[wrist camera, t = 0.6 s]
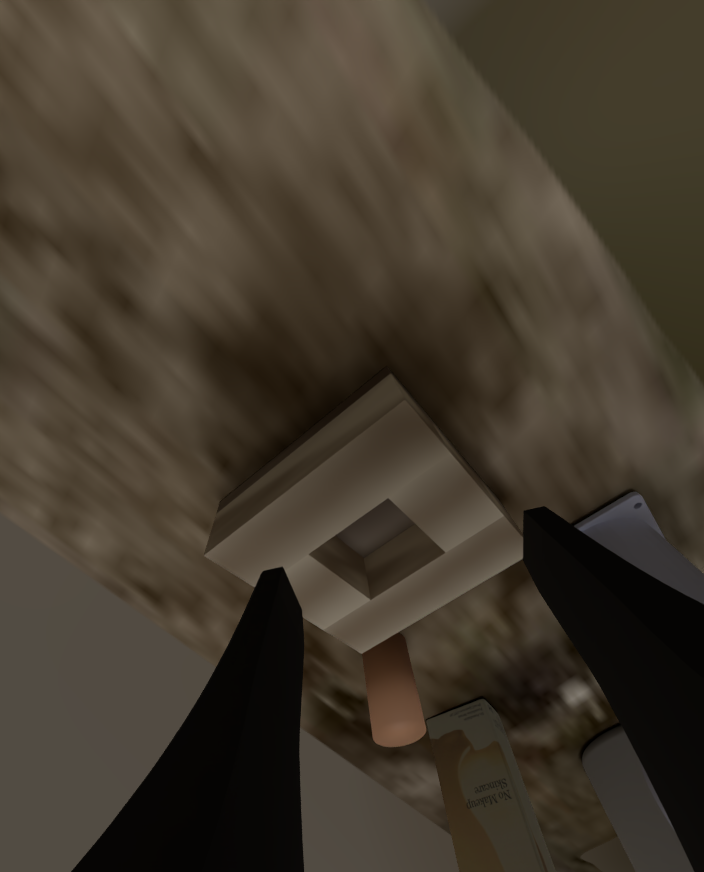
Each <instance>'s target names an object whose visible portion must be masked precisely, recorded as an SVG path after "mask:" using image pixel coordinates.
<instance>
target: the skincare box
mask: <svg viewBox="0 0 704 872" xmlns="http://www.w3.org/2000/svg"><path fill="white" fill-rule="evenodd" d="M426 722H427V727H428V732H429V736H430V741H431V745H432V749H433V754H434V758H435V763H436V768H437V772H438V777H439V781H440V786H441V791H442V795H443V800H444V804H445V808H446V813H447V818H448V822H449V827H450V831H451V836H452V840H453V845H454V849H455V854H456V858H457V863H458V867H459V872H556V871H555V868H554V865H553V863H552V860H551V857H550V854H549V851H548V849H547V846H546V843H545V840H544V838H543V835H542V832H541V829H540V827H539V824H538V821H537V818H536V816H535V813H534V810H533V807H532V804H531V802H530V799H529V796H528V794H527V791H526V788H525V785H524V782H523V780H522V777H521V774H520V772H519V769H518V766H517V763H516V760H515V758H514V755H513V752H512V750H511V747H510V744H509V741H508V739H507V736H506V733H505V730H504V728H503V725H502V722H501V719H500V717H499V715H498V713H497V712H496V711H495V710H494V709H493V707H492V706H491V705H490V704H489V703H488V702H487V701H486V700H484V699H479V700H477V701H475V702H472V703H470V704H467V705H464V706H462V707H459V708H457V709H454V710H451V711H449V712H446V713H443V714H441V715H438V716H436V717H433V718H430V719H428V720H427V721H426Z"/></svg>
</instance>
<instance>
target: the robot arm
mask: <svg viewBox="0 0 704 872" xmlns="http://www.w3.org/2000/svg"><path fill="white" fill-rule="evenodd" d="M523 561H524V563H525V565H526V567H527V569H528V571H529V573H530V575H531V577H532V579H533V581H534V583H535V585H536V587H537V588H538V590H539V592H540V594H541V595H542V597H543V599H544V600H545V602H546V603H547V605H548V606H549V608H550V609H551V611H552V613H553V614H554V616H555V617H556V619H557V620H558V622H559V623H560V625H561V626H562V628H563V629H564V631H565V632H566V634H567V635H568V637H569V638H570V640H571V641H572V643H573V644H574V646H575V647H576V649H577V651H578V652H579V654H580V655H581V657H582V658H583V660H584V661H585V663H586V664H587V666H588V667H589V669H590V670H591V672H592V674H593V675H594V677H595V679H596V680H597V682H598V684H599V685H600V687H601V689H602V691H603V692H604V694H605V696H606V698H607V700H608V702H609V703H610V705H611V707H612V709H613V711H614V713H615V715H616V716H617V718H618V720H619V722H620V724H621V726H622V727H623V729H624V731H625V733H626V735H627V737H628V739H629V741H630V743H631V745H632V747H633V749H634V750H635V752H636V754H637V756H638V758H639V760H640V765H641V769H642V772H643V775H644V778H645V780H646V783H647V785H648V787H649V789H650V791H651V793H652V795H653V797H654V799H655V801H656V802H657V804H658V806H659V808H660V809H661V811H662V813H663V814H664V816H665V817H666V819H667V821H668V822H669V824H670V825H671V827H672V828H673V830H674V831H675V832H676V834H677V837H678V839H679V841H680V843H681V845H682V847H683V849H684V851H685V853H686V855H687V858H688V860H689V862H690V864H691V866H692V868H693V870H694V872H704V574H703V573H702V572H701V571H700V570H699V569H698V568H697V567H695V566H694V565H693V564H692V563H691V562H690V561H689V560H688V559H687V558H685V557H684V556H683V555H682V554H681V553H680V552H679V551H678V550H677V549H675V548H674V547H673V546H672V545H671V544H670V543H669V542H668V541H667V540H666V539H665V537H664V535H663V534H662V532H661V530H660V528H659V526H658V524H657V523H656V521H655V519H654V517H653V515H652V513H651V512H650V510H649V508H648V506H647V504H646V502H645V501H644V499H643V497H642V496H641V495H640V494H639V493H638V492H631V493H628V494H627V495H625V496H623V497H622V498H620V499H618V500H617V501H615V502H613V503H612V504H610V505H608V506H606V507H605V508H603V509H601V510H600V511H598V512H596V513H595V514H593V515H591V516H590V517H588V518H586V519H585V520H583V521H581V522H580V523H578V524H576V525H574V526H573V525H571V524H570V523H568V522H567V521H566V520H564V519H563V518H561V517H560V516H558V515H557V514H555V513H554V512H552V511H551V510H549V509H548V508H546V507H545V506H543V507H538V508H534V509H530V510H525V511H524V520H523ZM303 659H304V632H303V616H302V608H301V606H300V604H299V602H298V599H297V597H296V595H295V593H294V590H293V588H292V586H291V584H290V581H289V579H288V577H287V574H286V572H285V570H284V568H283V566H282V567H278V568H274V569H269V570H265V571H263V572H262V573H261V574H260V577H259V579H258V581H257V584H256V586H255V588H254V591H253V593H252V595H251V598H250V600H249V602H248V604H247V607H246V609H245V611H244V613H243V615H242V617H241V620H240V622H239V624H238V626H237V628H236V630H235V632H234V634H233V636H232V638H231V640H230V642H229V644H228V646H227V648H226V650H225V652H224V654H223V656H222V657H221V659H220V661H219V663H218V665H217V667H216V669H215V671H214V672H213V674H212V676H211V678H210V680H209V681H208V684H207V685H206V687H205V688H204V690H203V692H202V693H201V695H200V697H199V699H198V700H197V702H196V704H195V705H194V707H193V708H192V710H191V712H190V713H189V715H188V716H187V718H186V720H185V721H184V723H183V724H182V726H181V727H180V729H179V730H178V732H177V733H176V735H175V736H174V738H173V739H172V741H171V742H170V744H169V745H168V747H167V748H166V750H165V751H164V753H163V754H162V756H161V757H160V758H159V760H158V761H157V763H156V764H155V766H154V767H153V768H152V770H151V771H150V773H149V774H148V775H147V777H146V778H145V779H144V781H143V782H142V783H141V785H140V786H139V787H138V789H137V790H136V791H135V793H134V794H133V795H132V797H131V798H130V799H129V801H128V802H127V803H126V804H125V806H124V807H123V808H122V810H121V811H120V812H119V814H118V815H117V816H116V818H115V819H114V820H113V822H112V823H111V824H110V825H109V827H108V828H107V829H106V831H105V832H104V833H103V834H102V836H101V837H100V838H99V839H98V840H97V842H96V843H95V844H94V845H93V846H92V848H91V849H90V850H89V851H88V852H87V853H86V855H85V856H84V857H83V858H82V860H81V861H80V862H79V863H78V864H77V865H76V867H75V868H74V869H73V870H72V871H71V872H304V862H303V844H302V820H301V797H300V761H299V736H300V735H299V734H300V716H301V697H302V679H303Z"/></svg>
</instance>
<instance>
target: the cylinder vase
mask: <svg viewBox="0 0 704 872" xmlns="http://www.w3.org/2000/svg"><path fill="white" fill-rule="evenodd" d="M582 764H583V768H584V770H585V772H586V774H587V776H588V778H589V780H590V782H591V784H592V786H593V788H594V790H595V792H596V794H597V796H598V798H599V800H600V802H601V804H602V806H603V808H604V810H605V812H606V814H607V816H608V817H609V819H610V821H611V823H612V825H613V827H614V829H615V831H616V833H617V835H618V837H619V839H620V841H621V843H622V845H623V847H624V849H625V851H626V853H627V855H628V857H629V859H630V861H631V863H632V865H633V867H634V869H635V871H636V872H694V870H693V868H692V866H691V864H690V862H689V860H688V858H687V855H686V853H685V851H684V849H683V847H682V845H681V843H680V841H679V839H678V837H677V834H676V832H675V831H674V830H673V828H672V827H671V825H670V824H669V822H668V821H667V819H666V817H665V816H664V814H663V813H662V811H661V809H660V808H659V806H658V804H657V802H656V801H655V799H654V797H653V795H652V793H651V791H650V789H649V787H648V785H647V783H646V780H645V778H644V775H643V772H642V769H641V765H640V760H639V758H638V756H637V754H636V752H635V750H634V749H633V747H632V745H631V743H630V741H629V739H628V737H627V735H626V733H625V731H624V729H623V727H622V726H621V725H620V726H617V727H615V728H613V729H611V730H609V731H607V732H605V733H603V734H602V735H600V736H599V737H597V738H596V739H595V740H593V741H592V742H591V743H590V744H589V745H588V746H587V748H586V749H585V751H584V753H583V756H582Z"/></svg>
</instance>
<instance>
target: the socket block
mask: <svg viewBox="0 0 704 872" xmlns="http://www.w3.org/2000/svg"><path fill="white" fill-rule="evenodd" d="M204 556H205V557H207V558H208V559H210V560H211V561H213V562H215V563H216V564H218V565H220V566H221V567H223V568H224V569H226V570H228V571H229V572H231V573H232V574H234V575H236V576H237V577H239V578H240V579H242V580H244V581H245V582H247V583H248V584H250V585H252V586H253V587H255V586H256V584H257V581H258V579H259V577H260V574H261V573H262V572H263V571H265V570H269V569H274V568H278V567H282V566H283V568H284V570H285V572H286V574H287V577H288V579H289V581H290V584H291V586H292V588H293V590H294V593H295V595H296V597H297V599H298V602H299V604H300V606H301V608H302V616H303V618H305V619H306V620H308V621H310V622H311V623H313V624H314V625H316V626H318V627H319V628H321V629H322V630H324V631H326V632H327V633H329V634H330V635H332V636H334V637H335V638H337V639H338V640H340V641H342V642H343V643H345V644H347V645H348V646H350V647H351V648H353V649H355V650H356V651H358V652H359V653H361V654H362V653H364V652H366V651H367V650H369V649H371V648H372V647H374V646H376V645H377V644H379V643H381V642H383V641H384V640H386V639H388V638H389V637H391V636H393V635H394V634H396V633H398V632H399V631H401V630H403V629H405V628H406V627H408V626H410V625H411V624H413V623H415V622H416V621H418V620H420V619H421V618H423V617H425V616H426V615H428V614H430V613H432V612H433V611H435V610H437V609H438V608H440V607H442V606H443V605H445V604H447V603H448V602H450V601H452V600H454V599H455V598H457V597H459V596H460V595H462V594H464V593H465V592H467V591H469V590H470V589H472V588H474V587H476V586H477V585H479V584H481V583H482V582H484V581H486V580H487V579H489V578H491V577H492V576H494V575H496V574H497V573H499V572H501V571H503V570H504V569H506V568H508V567H509V566H511V565H513V564H514V563H516V562H518V561H519V560H521V559H523V534H522V532H521V531H520V529H519V528H518V526H517V525H516V524H515V522H514V521H513V519H512V518H511V516H510V515H509V513H508V512H507V510H506V509H505V507H504V506H503V504H502V503H501V502H500V501H499V499H498V498H497V497H496V496H495V495H494V494H493V492H492V491H491V490H490V489H489V488H488V486H487V485H486V484H485V483H484V482H483V480H482V479H481V478H480V477H479V476H478V474H477V473H476V472H475V471H474V470H473V468H472V467H471V466H470V465H469V464H468V462H467V461H466V460H465V459H464V458H463V456H462V455H461V454H460V453H459V452H458V450H457V449H456V448H455V447H454V446H453V444H452V443H451V442H450V441H449V440H448V438H447V437H446V436H445V435H444V434H443V433H442V431H441V430H440V429H439V428H438V427H437V425H436V424H435V423H434V422H433V421H432V419H431V418H430V417H429V416H428V415H427V413H426V412H425V411H424V410H423V409H422V407H421V406H420V405H419V404H418V403H417V401H416V400H415V399H414V398H413V397H412V395H411V394H410V393H409V392H408V391H407V389H406V388H405V387H404V386H403V385H402V383H401V382H400V381H399V380H398V379H397V377H396V376H395V375H394V374H393V373H392V372H391V370H390V369H389V368H388V367H387V366H386V367H385V368H384V369H383V370H381V371H380V372H379V373H378V374H376V375H375V376H374V377H373V378H372V379H370V380H369V381H368V382H367V383H365V384H364V385H363V386H362V387H360V388H359V389H358V390H357V391H356V392H354V393H353V394H352V395H351V396H349V397H348V398H347V399H346V400H345V401H343V402H342V403H341V404H340V405H338V406H337V407H336V408H335V409H333V410H332V411H331V412H330V413H329V414H327V415H326V416H325V417H324V418H322V419H321V420H320V421H319V422H317V423H316V424H315V425H314V426H313V427H311V428H310V429H309V430H308V431H306V432H305V433H304V434H303V435H302V436H300V437H299V438H298V439H297V440H295V441H294V442H293V443H292V444H290V445H289V446H288V447H287V448H286V449H284V450H283V451H282V452H281V453H279V454H278V455H277V456H276V457H275V458H273V459H272V460H271V461H270V462H268V463H267V464H266V465H265V466H263V467H262V468H261V469H260V470H259V471H257V472H256V473H255V474H254V475H252V476H251V477H250V478H249V479H248V480H246V481H245V482H244V483H243V484H241V485H240V486H239V487H238V488H236V489H235V490H234V491H233V492H232V493H230V494H229V495H228V496H227V497H225V498H224V499H223V500H222V501H221V502H220V504H219V507H218V510H217V513H216V517H215V520H214V523H213V527H212V530H211V533H210V536H209V540H208V543H207V546H206V550H205V553H204Z"/></svg>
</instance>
